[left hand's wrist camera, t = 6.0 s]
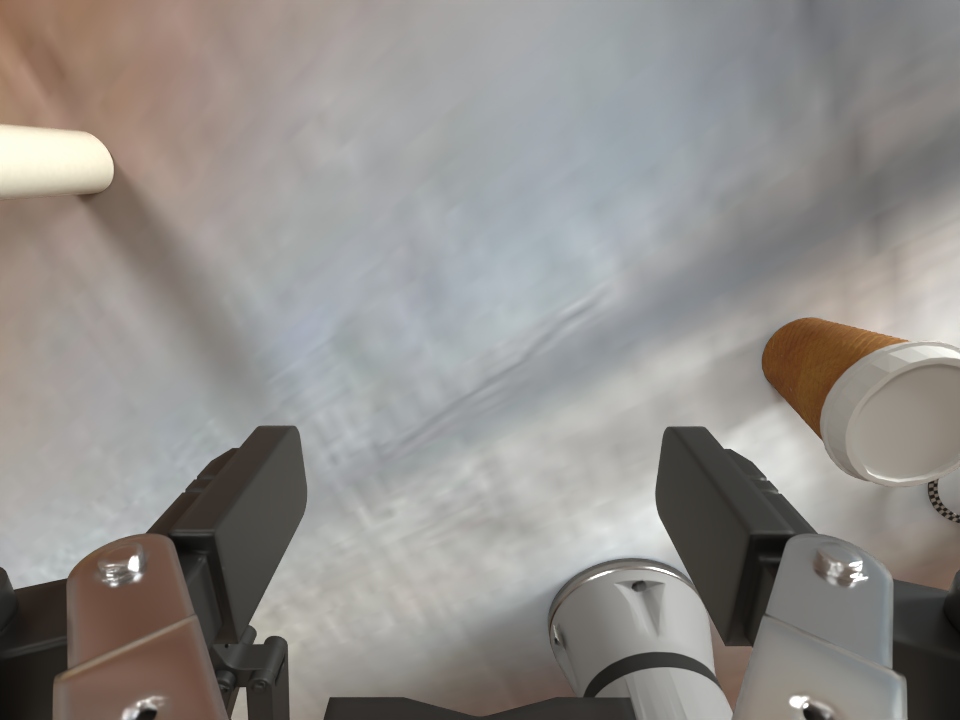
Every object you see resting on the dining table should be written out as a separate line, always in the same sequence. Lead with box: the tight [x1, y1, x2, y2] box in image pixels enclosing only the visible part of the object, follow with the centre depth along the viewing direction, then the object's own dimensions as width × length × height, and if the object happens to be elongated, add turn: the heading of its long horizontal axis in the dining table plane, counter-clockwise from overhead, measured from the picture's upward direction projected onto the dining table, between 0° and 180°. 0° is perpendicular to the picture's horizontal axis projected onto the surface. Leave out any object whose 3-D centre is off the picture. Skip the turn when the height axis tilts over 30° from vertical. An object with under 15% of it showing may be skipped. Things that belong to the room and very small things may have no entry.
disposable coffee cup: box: [762, 318, 960, 487], centre depth 36 cm, size 10×10×12 cm
